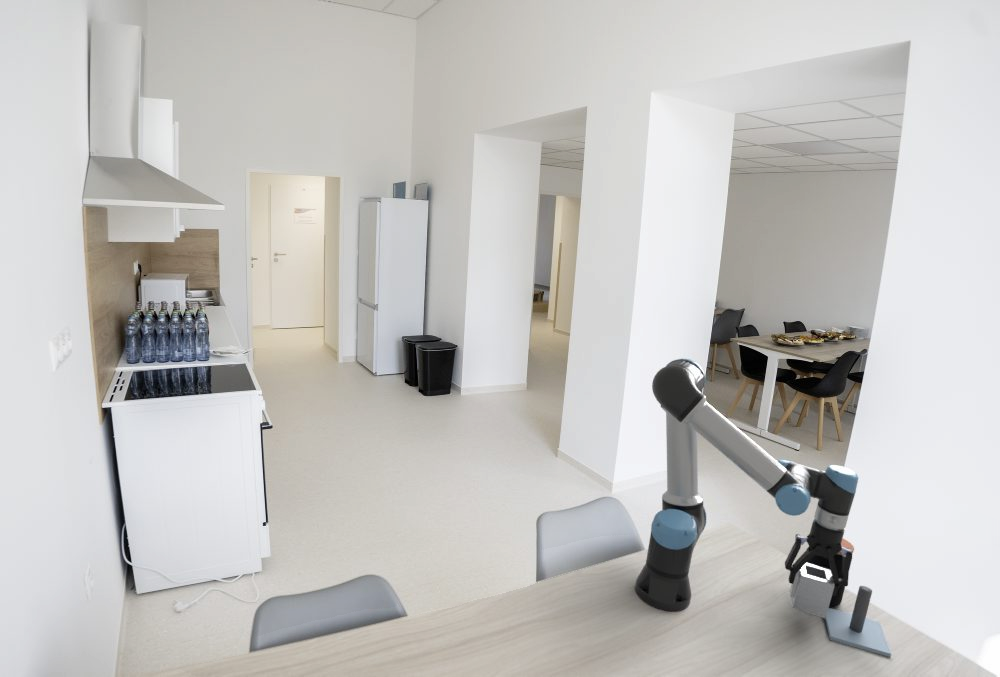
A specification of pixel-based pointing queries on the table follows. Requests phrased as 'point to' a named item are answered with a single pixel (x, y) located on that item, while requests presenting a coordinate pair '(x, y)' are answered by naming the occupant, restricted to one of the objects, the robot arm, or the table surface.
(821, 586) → the square metal tube
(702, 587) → the table surface
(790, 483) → the robot arm
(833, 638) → the blue base with peg
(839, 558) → the coffee jar
